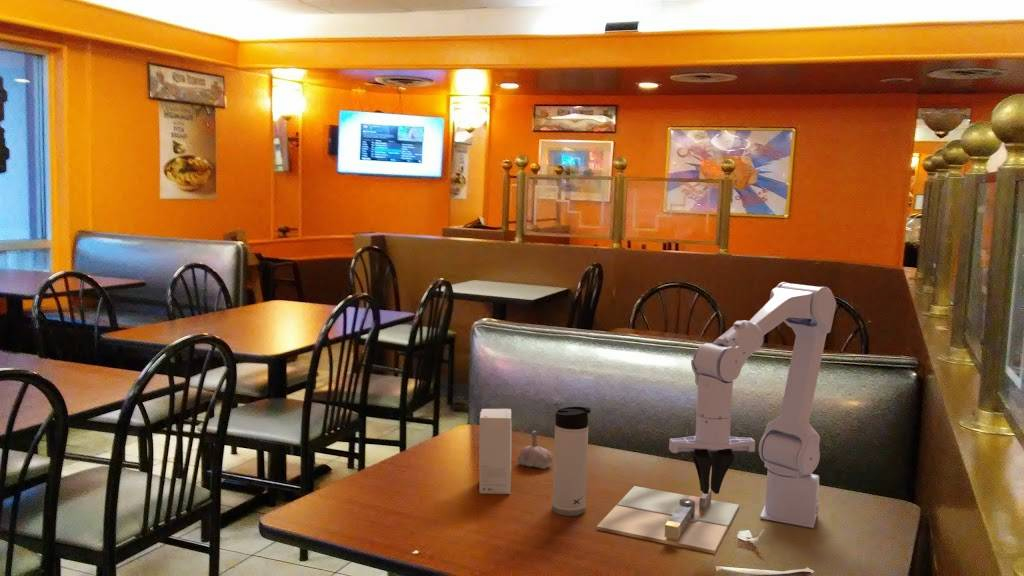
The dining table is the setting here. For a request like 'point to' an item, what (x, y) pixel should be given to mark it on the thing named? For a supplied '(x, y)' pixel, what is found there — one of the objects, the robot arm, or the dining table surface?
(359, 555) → the dining table surface
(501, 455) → the skincare box
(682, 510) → the bar
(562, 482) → the travel mug
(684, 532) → the door board
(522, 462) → the garlic bulb
